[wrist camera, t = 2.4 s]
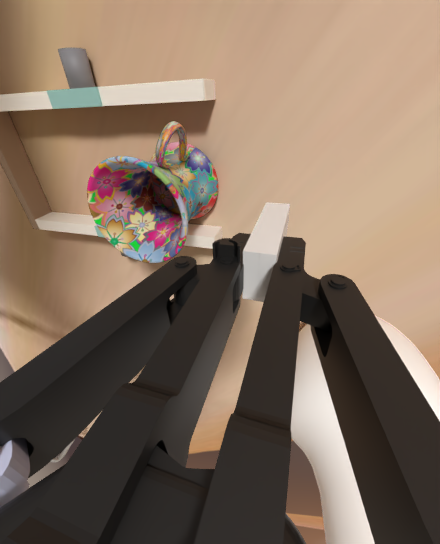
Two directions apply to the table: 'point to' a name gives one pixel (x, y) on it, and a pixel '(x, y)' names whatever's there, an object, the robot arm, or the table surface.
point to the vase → (328, 438)
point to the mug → (152, 197)
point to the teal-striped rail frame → (6, 143)
